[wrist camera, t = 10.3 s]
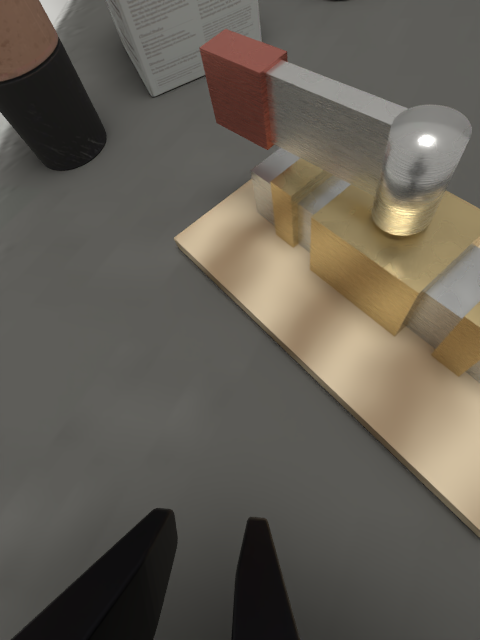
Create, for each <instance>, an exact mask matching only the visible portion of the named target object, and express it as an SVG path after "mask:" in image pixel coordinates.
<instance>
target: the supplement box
mask: <svg viewBox="0 0 480 640" xmlns="http://www.w3.org/2000/svg"><path fill="white" fill-rule="evenodd" d="M105 1H106V3H107V6H108V8H109V11H110V13H111V16H112V18H113V21H114V23H115V26H116V28H117V31H118V33H119V36H120V38H121V41H122V43H123V46H124V48H125V49H126V51H127V53H128V55H129V57H130V59H131V61H132V62H133V64H134V66H135V68H136V70H137V71H138V73H139V75H140V77H141V79H142V81H143V82H144V84H145V86H146V88H147V89H148V91H149V93H150V95H151V96H152V97H155V96H157V95H160V94H162V93H164V92H166V91H169V90H171V89H174V88H176V87H178V86H181V85H183V84H185V83H187V82H190V81H192V80H194V79H197V78H199V77H201V76H204V75H205V71H204V66H203V62H202V58H201V53H200V49H199V47H201V46H202V45H204V44H205V43H206V42H208V41H209V40H210V39H212V38H213V37H215V36H216V35H217V34H219V33H220V32H222V31H223V30H224V29H228V30H230V31H233V32H236V33H238V34H241V35H244V36H246V37H249V38H252V39H255V40H257V41H260V42H262V38H261V27H260V17H259V6H258V0H105Z"/></svg>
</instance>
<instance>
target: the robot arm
mask: <svg viewBox="0 0 480 640" xmlns="http://www.w3.org/2000/svg"><path fill="white" fill-rule="evenodd" d="M177 541H178V537H177V529H176V522H175V515H174V512H173V510H171V509H164V508H156V509H154V510H152V511H151V512H150V513H149V514H148V515H147V516H146V517H145V518H143V519H142V520H141V521H140V522H139V523H138V524H137V525H136V526H135V527H134V528H133V529H131V530H130V531H129V532H128V533H127V534H126V535H125V536H124V537H123V538H122V539H120V540H119V541H118V542H117V543H116V544H115V545H114V546H113V547H112V548H111V549H110V550H108V551H107V552H106V553H105V554H104V555H103V556H102V557H101V558H100V559H99V560H98V561H96V562H95V563H94V564H93V565H92V566H91V567H90V568H89V569H88V570H87V571H85V572H84V573H83V574H82V575H81V576H80V577H79V578H78V579H77V580H76V581H75V582H73V583H72V584H71V585H70V586H69V587H68V588H67V589H66V590H65V591H64V592H62V593H61V594H60V595H59V596H58V597H57V598H56V599H55V600H54V601H53V602H52V603H50V604H49V605H48V606H47V607H46V608H45V609H44V610H43V611H42V612H41V613H40V614H38V615H37V616H36V617H35V618H34V619H33V620H32V621H31V622H30V623H29V624H27V625H26V626H25V627H24V628H23V629H22V630H21V631H20V632H19V633H18V634H17V635H15V636H14V637H13V638H12V639H11V640H153V638H154V635H155V632H156V629H157V625H158V621H159V617H160V614H161V610H162V606H163V602H164V597H165V593H166V589H167V585H168V581H169V577H170V573H171V569H172V565H173V561H174V557H175V553H176V549H177ZM232 640H300V638H299V634H298V630H297V627H296V623H295V619H294V616H293V612H292V608H291V605H290V601H289V597H288V594H287V590H286V586H285V583H284V579H283V575H282V572H281V568H280V564H279V561H278V557H277V554H276V550H275V546H274V543H273V539H272V535H271V532H270V528H269V524H268V521H267V519H265V518H258V517H249V518H248V520H247V524H246V529H245V533H244V538H243V542H242V547H241V551H240V556H239V560H238V565H237V570H236V578H235V591H234V607H233V623H232Z"/></svg>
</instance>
